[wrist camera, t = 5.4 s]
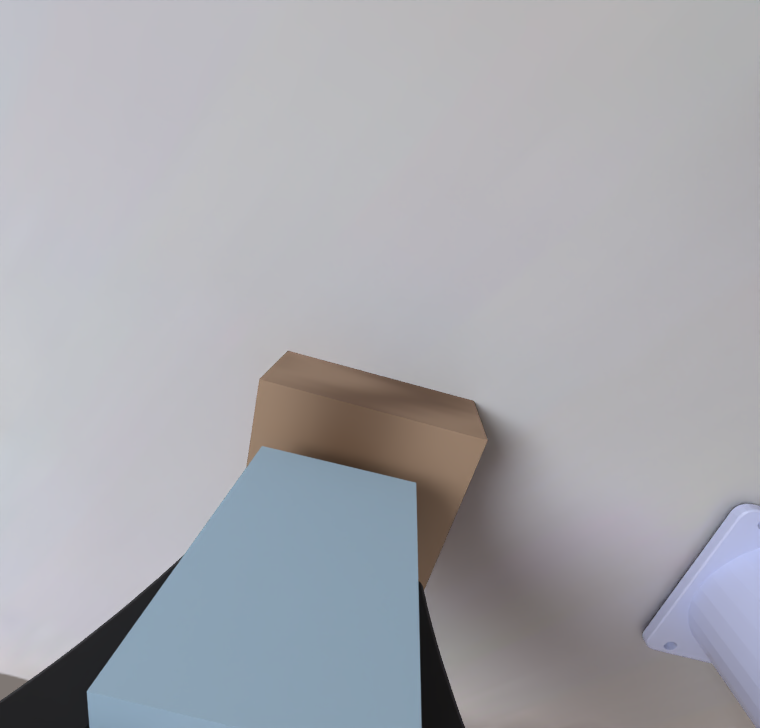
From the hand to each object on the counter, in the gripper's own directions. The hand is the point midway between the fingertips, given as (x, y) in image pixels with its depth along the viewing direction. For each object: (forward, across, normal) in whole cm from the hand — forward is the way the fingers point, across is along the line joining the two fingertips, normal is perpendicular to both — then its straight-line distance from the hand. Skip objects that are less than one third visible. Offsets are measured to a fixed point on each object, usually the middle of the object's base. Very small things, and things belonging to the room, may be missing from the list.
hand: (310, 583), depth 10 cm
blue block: (+2, 0, 0) cm, 2 cm away
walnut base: (+6, 0, 0) cm, 6 cm away
